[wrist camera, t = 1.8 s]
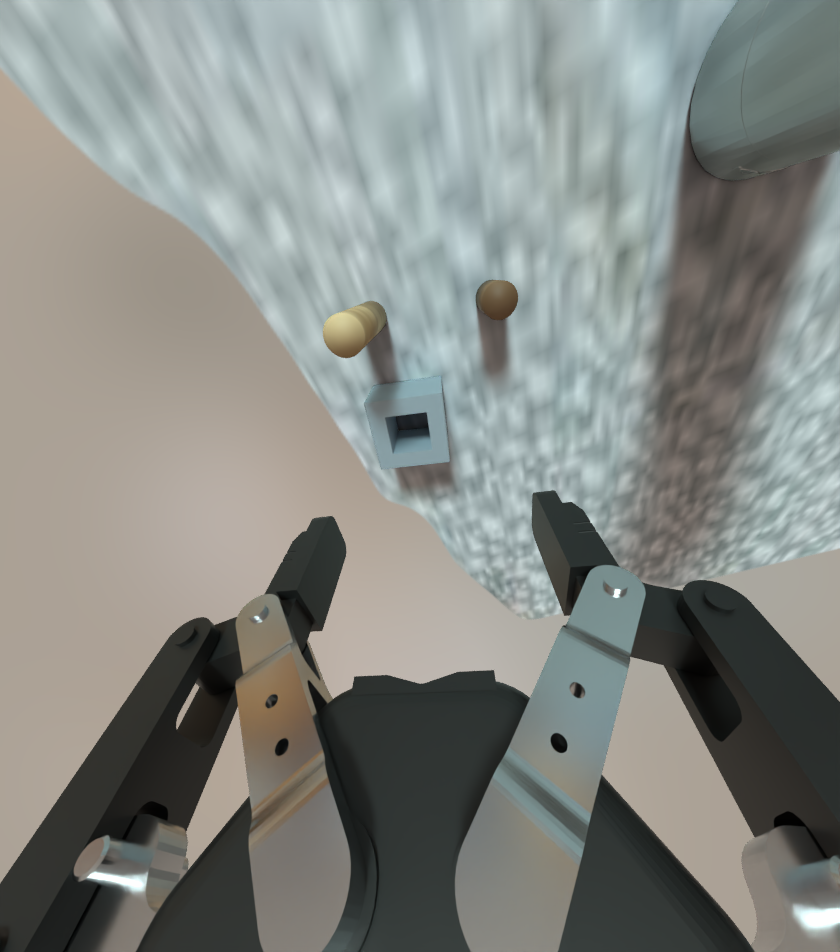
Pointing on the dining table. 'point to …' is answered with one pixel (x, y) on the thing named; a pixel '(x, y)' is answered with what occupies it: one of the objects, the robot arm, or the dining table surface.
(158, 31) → the dining table surface
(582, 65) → the dining table surface
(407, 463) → the hole block
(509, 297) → the short dowel
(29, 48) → the dining table surface
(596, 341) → the dining table surface
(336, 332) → the long dowel
